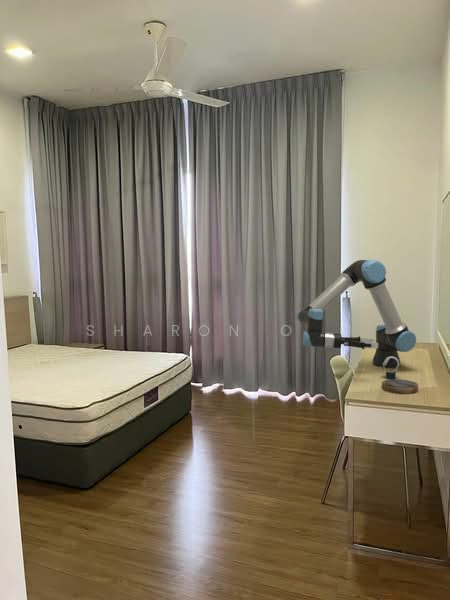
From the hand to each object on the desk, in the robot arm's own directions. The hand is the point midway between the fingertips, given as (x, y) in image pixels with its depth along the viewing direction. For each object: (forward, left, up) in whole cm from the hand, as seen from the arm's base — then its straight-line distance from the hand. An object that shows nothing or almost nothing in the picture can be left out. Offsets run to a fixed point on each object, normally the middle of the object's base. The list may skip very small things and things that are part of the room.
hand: (375, 343), depth 244 cm
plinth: (+10, +20, -18) cm, 28 cm away
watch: (-5, +6, -18) cm, 20 cm away
